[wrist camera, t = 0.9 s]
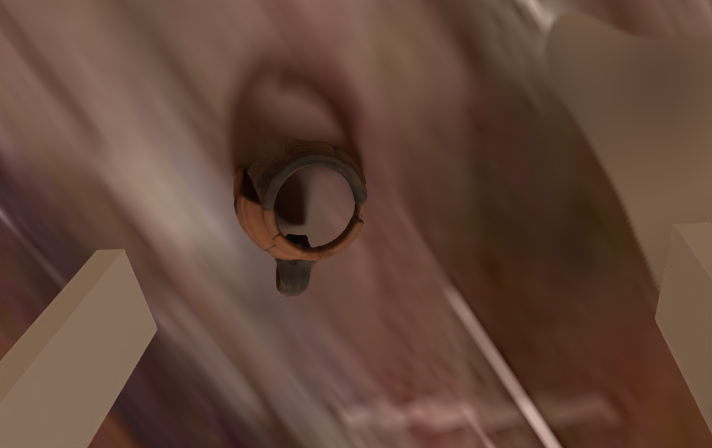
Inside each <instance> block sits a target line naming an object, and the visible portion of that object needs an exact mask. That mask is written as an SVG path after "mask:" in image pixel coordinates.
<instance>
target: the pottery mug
mask: <svg viewBox="0 0 712 448" xmlns="http://www.w3.org/2000/svg"><path fill="white" fill-rule="evenodd" d="M285 141H286V146H285V157H284V160H283V161H280V160H278V159H275V158H272V159H271V158H269V159H265V160H263V161H254V162H253V163H252V164H251V166H250V167H249V168H248V171H247V173H248V175H249V176H250V177H251V178H252V182H253V185H254V188H255V189H256V191H257V194H258V197H259V200H260V202H255V201H252V200H251V199H249V198H248V197H246V196H245V195H243V188H242V181H243V173H244V170H243V168H239V169H238V170H237V172H236V175H235V178H234V190H233V195H234V208H235V212H236V215H237V218H238V220H239V223H240V225H241V227H242V228H243V230H244V231H245V233H246V234H247V235H248V236H249V237H250V238H251V239H252V241H253V242H254V243H255V244H256V245H257V246H258V247H259V248H261V249H262V250H264V251H268V253H269V254H270V255H272V256H273V257H274V258H275V260H276V262H277V268H276V284H277V285H276V286H277V290H278V291H279V292H280V293H281V294H283V295H285V296H287V297H291V296H298V295H300V294H301V293H303V292H304V291H305V290H306V288H307V286H308V283H309V279H310V272H311V268H312V267H313V265H314V264H315V263H316V262H317V261H318V260H321V259H325V258H329V257H331V256H333V255H336V254H338V253H339V252H341V251H343V250H344V249H346V248H347V247H348V246H349V245H350V244H351V243H352V242H353V241H354V240H355V239H356V238H357V236H358V234H359V232H360V231H361V229H362V226H363V224H364V222H363V221H362V220H361V218H362V214H363V212H364V210H365V207H366V201H367V189H366V186H365V185H366V180H365V177H364V175H363V173H362V171H361V170H360V168H359V167H358V165H357V164H356V162H355V161H354V160H353V159H352V158H351V157H350V156H349V155H348V154H347V153H345V152H344V151H343V150H342V149H340V148H339V147H334V148H332V147H331V146H330V144H328V143H325V142H313V141H312V142H309V141H302V140H297V139H295V138H290V137H286V138H285ZM311 166H325V167H329V168H331V169H333V170H335V171H337V172H338V173H340V174H341V175H342V176H343V177H344V178H345V179H346V180H347V181H348V183H349V185H350V187H351V189H352V192H353V196H354V200H355V210H354V214H353V217H352V218H351V220H350V222H349V224H348V226H347V227H346V229H345V230H344V231H343V232H342V234H341V235H340V236H338V237H337V238H336V239H335V240H333V241H332V242H330V243H328V244H325V245H323V246H317V247H314V248H311V247H310V244H309V242H308V237H307V236H306V235H293V234H288V235H286V236H284V235H283V234H282V233H281V231H280V229H279V227H278V225H277V222H276V219H275V210H274V204H275V199H276V196H277V193H278V191H279V189H280V187H281V186H282V185H283V183H284V182H285V181H286V180H287V179H288V178H289V177H290V176H291V175H292V174H293V173H295V172H296V171H297V170H300V169H302V168H305V167H311Z"/></svg>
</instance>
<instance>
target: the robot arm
mask: <svg viewBox="0 0 712 448" xmlns="http://www.w3.org/2000/svg"><path fill="white" fill-rule="evenodd" d="M655 321H656V323H657V325H658V327H659V329H660V331H661V333H662V335H663V337H664V339H665V341H666V343H667V345H668V347H669V349H670V351H671V353H672V355H673V357H674V359H675V361H676V363H677V365H678V367H679V369H680V371H681V373H682V375H683V377H684V379H685V381H686V383H687V385H688V387H689V389H690V391H691V393H692V395H693V397H694V399H695V401H696V403H697V405H698V407H699V409H700V411H701V413H702V415H703V417H704V419H705V421H706V423H707V425H708V427H709V429H710V431H711V433H712V223H689V224H674V225H673V230H672V235H671V240H670V246H669V250H668V255H667V261H666V266H665V271H664V276H663V281H662V286H661V291H660V296H659V301H658V306H657V311H656V316H655ZM156 331H157V327H156V324H155V322H154V320H153V317H152V315H151V312H150V310H149V308H148V305H147V303H146V301H145V298H144V296H143V293H142V291H141V289H140V286H139V284H138V281H137V279H136V277H135V274H134V272H133V269H132V267H131V265H130V262H129V260H128V257H127V255H126V253H125V250H124V249H115V250H97V251H96V252H95V253H94V254H93V255H92V257H91V258H90V259H89V260H88V261H87V262H86V263H85V265H84V266H83V267H82V268H81V269H80V270H79V271H78V273H77V274H76V275H75V276H74V277H73V278H72V279H71V281H70V282H69V283H68V284H67V285H66V286H65V287H64V289H63V290H62V291H61V292H60V293H59V294H58V296H57V297H56V298H55V299H54V300H53V301H52V302H51V304H50V305H49V306H48V307H47V308H46V309H45V310H44V312H43V313H42V314H41V315H40V316H39V317H38V318H37V320H36V321H35V322H34V323H33V324H32V325H31V326H30V328H29V329H28V330H27V331H26V332H25V333H24V334H23V336H22V337H21V338H20V339H19V340H18V341H17V343H16V344H15V345H14V346H13V347H12V348H11V349H10V351H9V352H8V353H7V354H6V355H5V356H4V357H3V359H2V360H1V361H0V448H87V447H88V446H89V444H90V442H91V440H92V439H93V437H94V435H95V434H96V432H97V430H98V429H99V427H100V425H101V424H102V422H103V420H104V419H105V417H106V415H107V413H108V412H109V410H110V408H111V407H112V405H113V403H114V402H115V400H116V398H117V397H118V395H119V393H120V391H121V390H122V388H123V386H124V385H125V383H126V381H127V380H128V378H129V376H130V375H131V373H132V371H133V370H134V368H135V366H136V364H137V363H138V361H139V359H140V358H141V356H142V354H143V353H144V351H145V349H146V348H147V346H148V344H149V343H150V341H151V339H152V337H153V336H154V334H155V332H156Z"/></svg>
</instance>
